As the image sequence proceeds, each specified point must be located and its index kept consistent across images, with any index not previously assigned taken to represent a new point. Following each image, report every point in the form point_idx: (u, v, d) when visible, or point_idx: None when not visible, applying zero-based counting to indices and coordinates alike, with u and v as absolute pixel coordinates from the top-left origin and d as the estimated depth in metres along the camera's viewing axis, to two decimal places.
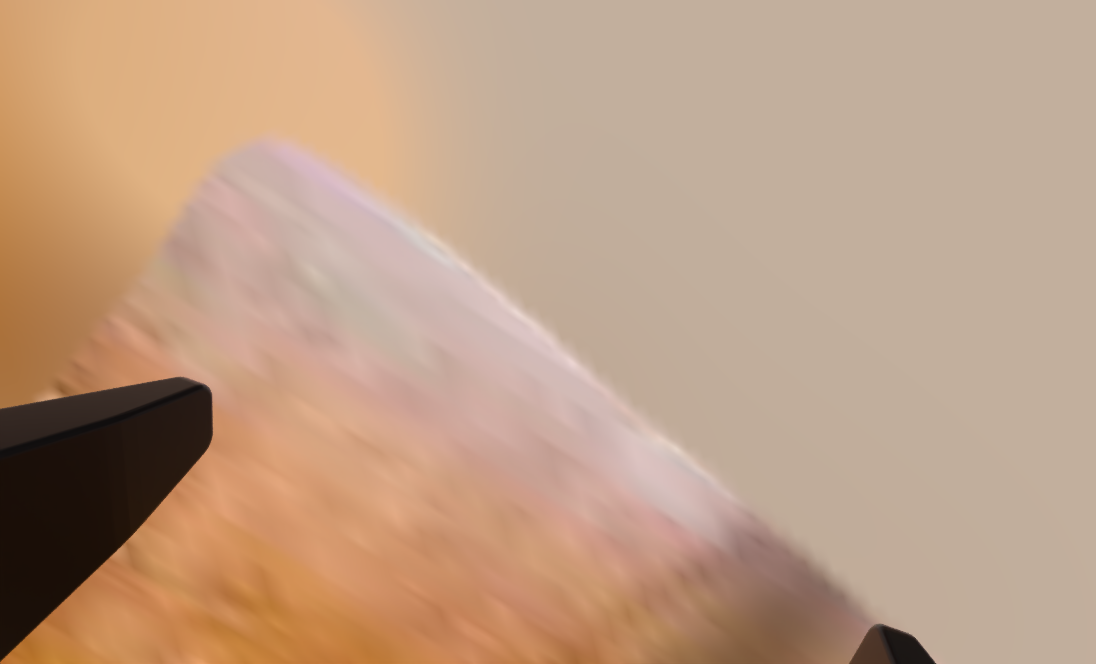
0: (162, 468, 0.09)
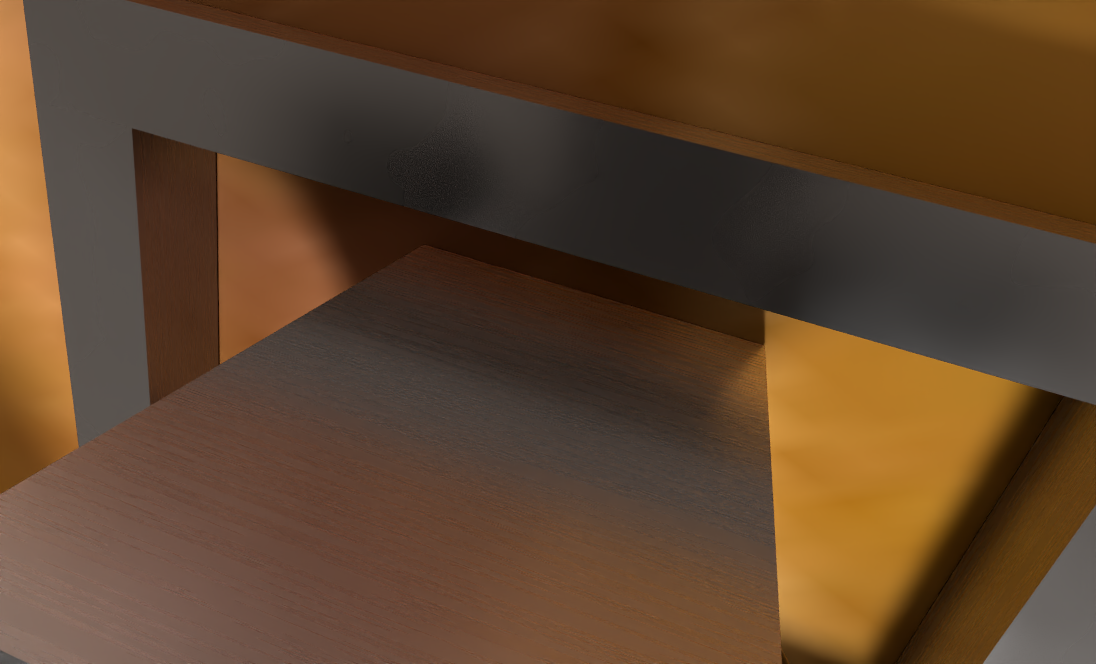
0: None
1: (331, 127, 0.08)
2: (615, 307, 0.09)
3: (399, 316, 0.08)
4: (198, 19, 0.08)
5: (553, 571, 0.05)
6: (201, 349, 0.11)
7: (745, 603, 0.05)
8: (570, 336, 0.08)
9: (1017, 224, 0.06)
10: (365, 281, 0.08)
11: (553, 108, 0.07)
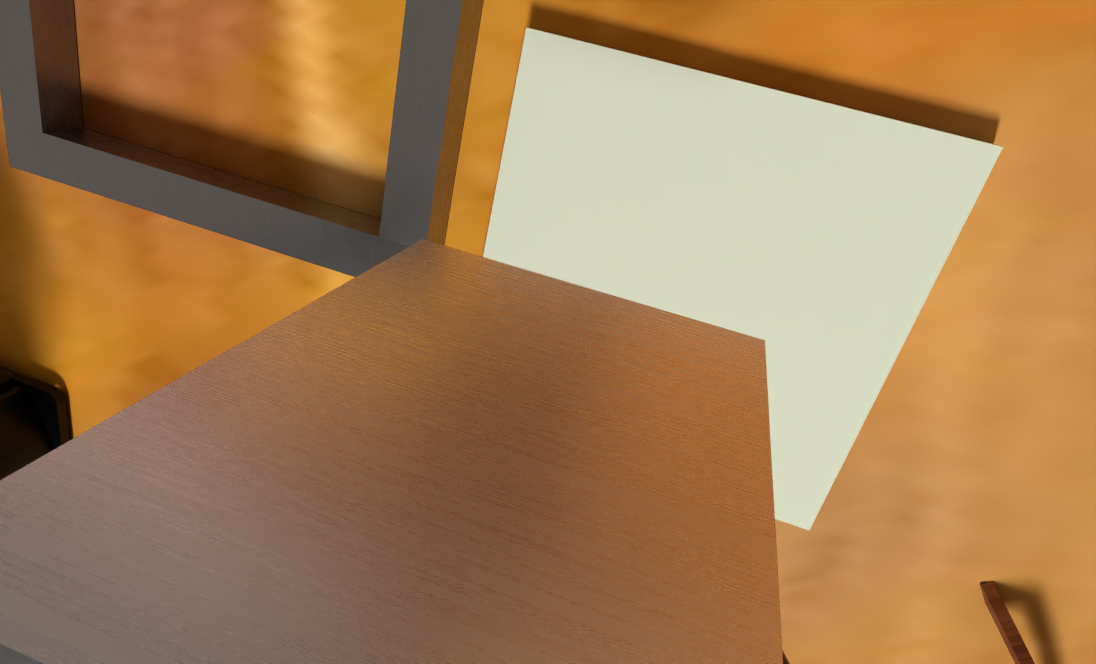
0: None
1: None
2: (615, 302, 0.09)
3: (396, 309, 0.08)
4: None
5: (553, 563, 0.05)
6: (64, 26, 0.21)
7: (745, 595, 0.05)
8: (569, 330, 0.08)
9: None
10: (363, 274, 0.08)
11: None
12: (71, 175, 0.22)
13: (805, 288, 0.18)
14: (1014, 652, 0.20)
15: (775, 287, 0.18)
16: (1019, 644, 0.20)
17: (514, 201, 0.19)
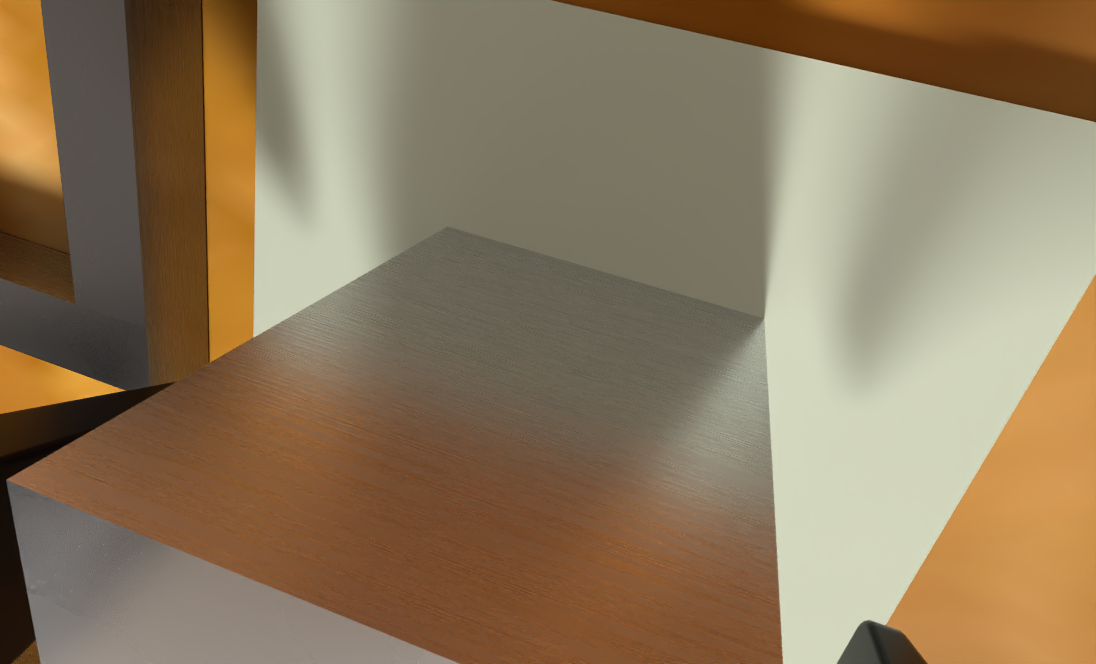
0: None
1: None
2: (626, 283, 0.10)
3: (431, 286, 0.08)
4: None
5: (583, 492, 0.05)
6: None
7: (746, 521, 0.05)
8: (586, 307, 0.09)
9: None
10: (397, 257, 0.09)
11: None
12: None
13: (778, 399, 0.10)
14: None
15: None
16: None
17: (286, 244, 0.11)
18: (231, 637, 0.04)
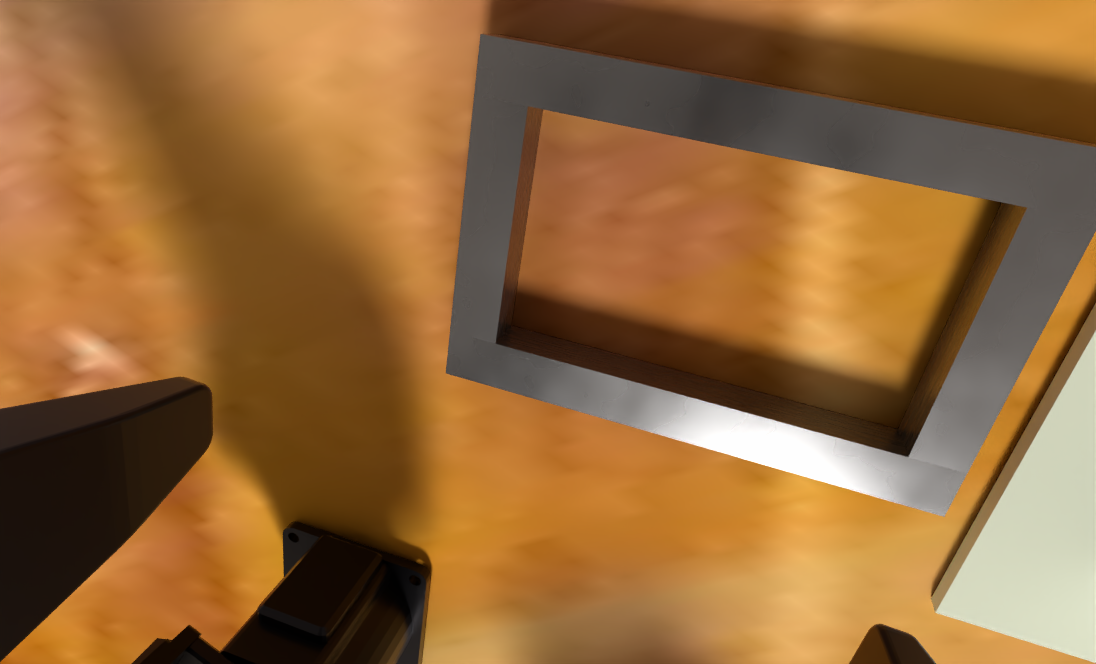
0: (163, 468, 0.09)
1: (639, 99, 0.17)
2: None
3: None
4: (576, 52, 0.17)
5: None
6: (521, 233, 0.20)
7: None
8: None
9: (961, 122, 0.15)
10: None
11: (753, 84, 0.16)
12: (521, 384, 0.21)
13: None
14: None
15: None
16: None
17: (1075, 418, 0.17)
18: None
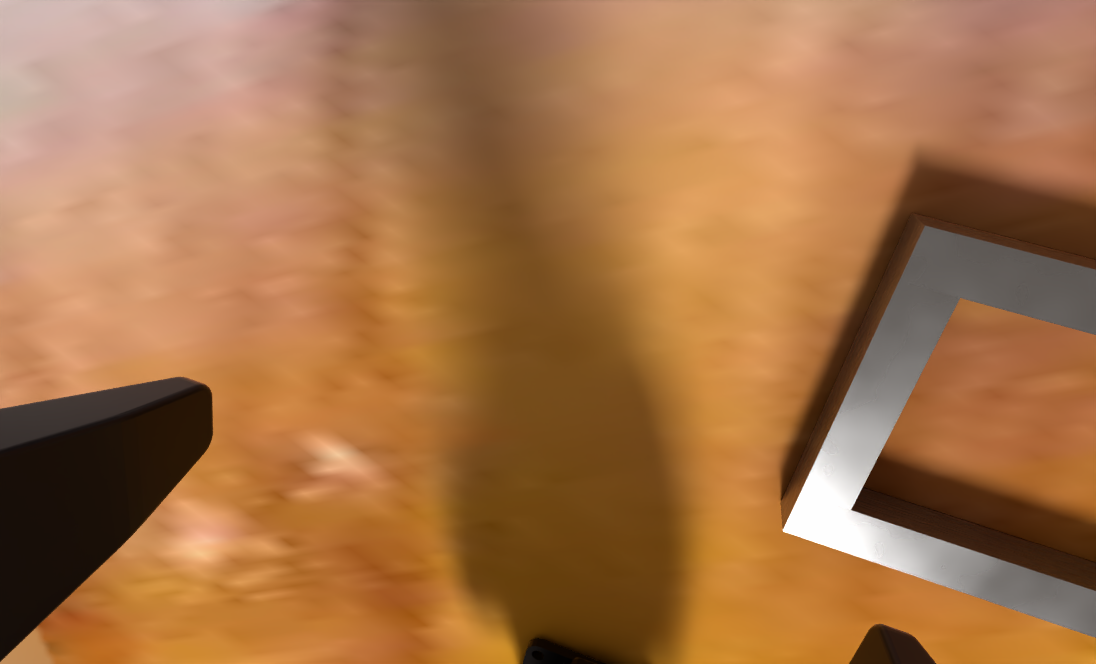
0: (162, 468, 0.09)
1: (1094, 305, 0.16)
2: None
3: None
4: (1035, 254, 0.16)
5: None
6: None
7: None
8: None
9: None
10: None
11: None
12: (869, 549, 0.20)
13: None
14: None
15: None
16: None
17: None
18: None
